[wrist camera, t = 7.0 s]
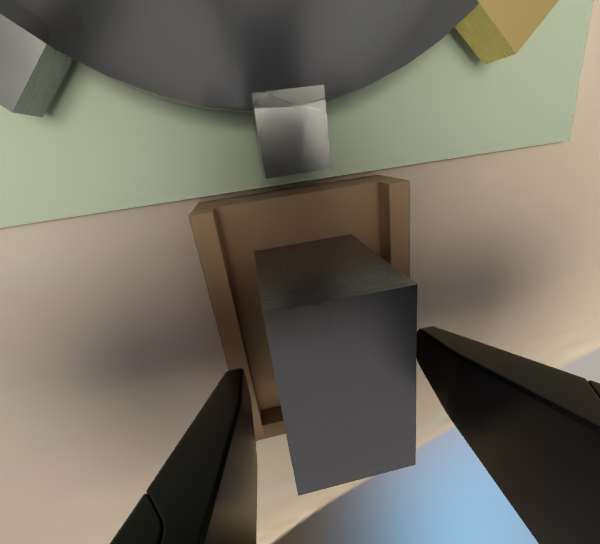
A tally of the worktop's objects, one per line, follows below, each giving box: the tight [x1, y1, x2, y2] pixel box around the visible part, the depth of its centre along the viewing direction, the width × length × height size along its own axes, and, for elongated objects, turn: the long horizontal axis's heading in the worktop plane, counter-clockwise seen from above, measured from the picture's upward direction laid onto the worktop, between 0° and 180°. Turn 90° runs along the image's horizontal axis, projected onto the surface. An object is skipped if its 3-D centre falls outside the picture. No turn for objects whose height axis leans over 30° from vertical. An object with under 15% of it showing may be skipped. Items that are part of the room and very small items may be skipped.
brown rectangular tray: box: [189, 175, 410, 441], centre depth 11 cm, size 8×6×2 cm
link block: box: [254, 234, 417, 496], centre depth 9 cm, size 5×3×4 cm, turn 8°
